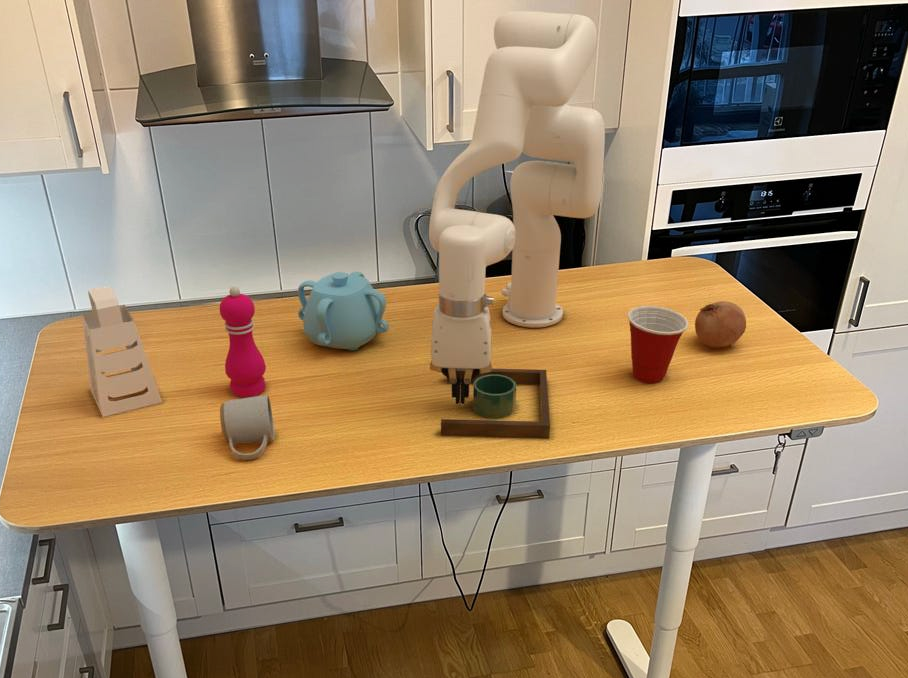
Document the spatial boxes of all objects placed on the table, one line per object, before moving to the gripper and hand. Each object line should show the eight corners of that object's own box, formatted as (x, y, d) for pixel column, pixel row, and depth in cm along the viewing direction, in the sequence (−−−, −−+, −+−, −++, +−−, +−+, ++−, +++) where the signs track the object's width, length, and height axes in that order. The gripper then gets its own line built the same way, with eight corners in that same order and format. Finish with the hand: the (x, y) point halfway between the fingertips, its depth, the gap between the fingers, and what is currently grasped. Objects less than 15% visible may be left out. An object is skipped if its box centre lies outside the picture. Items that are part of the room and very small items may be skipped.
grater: (102, 416, 162) (75, 311, 150) (91, 390, 170) (64, 288, 158) (162, 402, 166) (140, 298, 154) (148, 377, 174) (126, 276, 162)
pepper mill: (275, 382, 171) (262, 281, 160) (256, 401, 166) (242, 297, 154) (240, 377, 173) (225, 276, 162) (221, 395, 168) (204, 292, 156)
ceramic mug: (226, 429, 158) (219, 390, 153) (274, 425, 159) (269, 386, 154) (224, 464, 150) (217, 424, 145) (275, 460, 150) (269, 420, 146)
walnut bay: (440, 435, 156) (440, 422, 155) (447, 379, 172) (447, 367, 170) (549, 438, 155) (550, 425, 153) (545, 381, 171) (546, 369, 169)
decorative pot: (394, 350, 182) (392, 285, 174) (313, 362, 178) (308, 296, 170) (372, 316, 194) (370, 254, 187) (297, 327, 190) (291, 264, 183)
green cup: (464, 407, 163) (464, 384, 161) (492, 392, 168) (493, 370, 165) (495, 422, 159) (496, 399, 156) (523, 407, 163) (524, 384, 161)
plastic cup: (680, 393, 167) (690, 332, 160) (619, 387, 169) (626, 327, 162) (679, 365, 175) (688, 306, 168) (621, 360, 177) (628, 302, 170)
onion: (698, 362, 183) (683, 322, 177) (707, 331, 188) (693, 292, 182) (747, 356, 177) (733, 315, 171) (755, 324, 182) (742, 284, 177)
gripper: (507, 295, 155) (503, 391, 165) (418, 292, 156) (419, 389, 166) (507, 313, 148) (502, 412, 159) (414, 311, 149) (416, 409, 160)
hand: (460, 400), depth 162 cm, fingers closed
